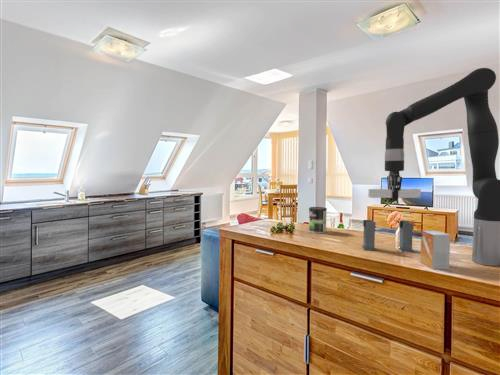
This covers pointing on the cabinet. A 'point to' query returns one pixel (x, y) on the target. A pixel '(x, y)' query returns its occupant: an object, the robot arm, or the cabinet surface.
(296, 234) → the cabinet surface
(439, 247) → the small box
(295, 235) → the cabinet surface
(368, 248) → the post far
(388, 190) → the rail
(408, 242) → the post near
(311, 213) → the coffee can
